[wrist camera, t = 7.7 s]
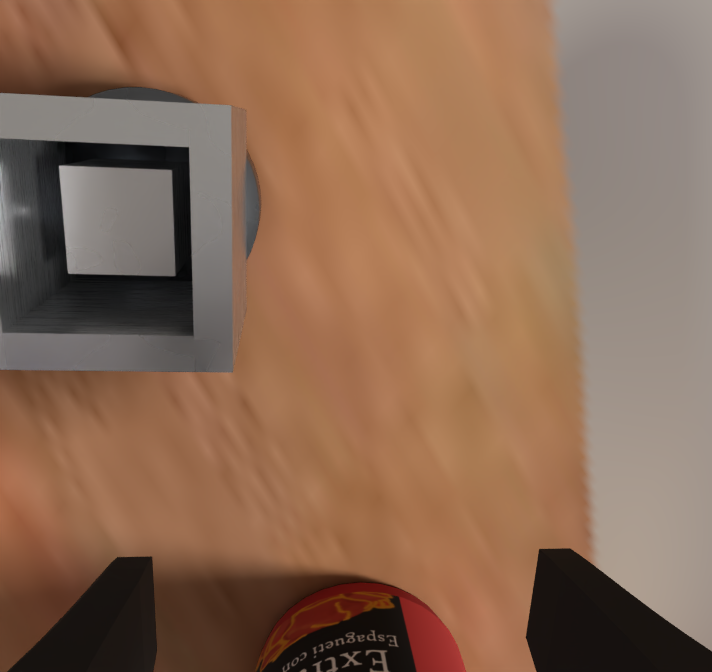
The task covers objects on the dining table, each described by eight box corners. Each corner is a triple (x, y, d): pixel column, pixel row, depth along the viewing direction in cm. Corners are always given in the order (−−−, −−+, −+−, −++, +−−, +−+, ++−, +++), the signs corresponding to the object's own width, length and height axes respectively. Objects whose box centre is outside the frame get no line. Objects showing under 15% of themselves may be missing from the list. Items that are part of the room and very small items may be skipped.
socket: (48, 305, 18) (-35, 369, 14) (28, 98, 17) (-73, 89, 12) (246, 309, 19) (232, 372, 14) (246, 109, 17) (231, 105, 13)
